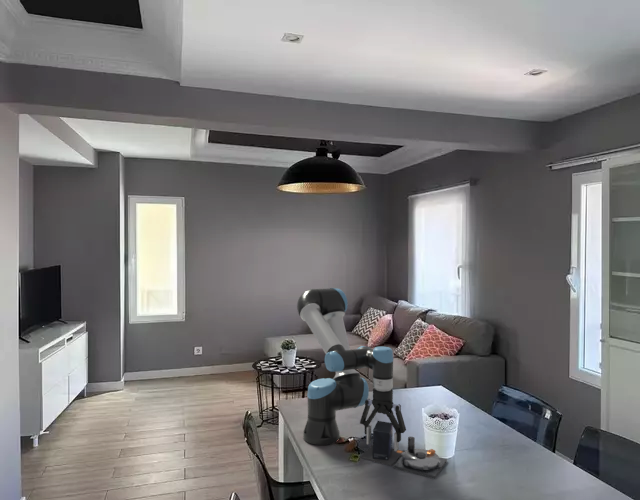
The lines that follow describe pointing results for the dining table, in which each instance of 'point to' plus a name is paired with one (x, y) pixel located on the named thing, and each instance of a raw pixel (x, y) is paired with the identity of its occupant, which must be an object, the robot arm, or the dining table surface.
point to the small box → (382, 440)
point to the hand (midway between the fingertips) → (382, 446)
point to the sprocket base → (426, 473)
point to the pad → (390, 462)
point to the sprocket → (420, 457)
